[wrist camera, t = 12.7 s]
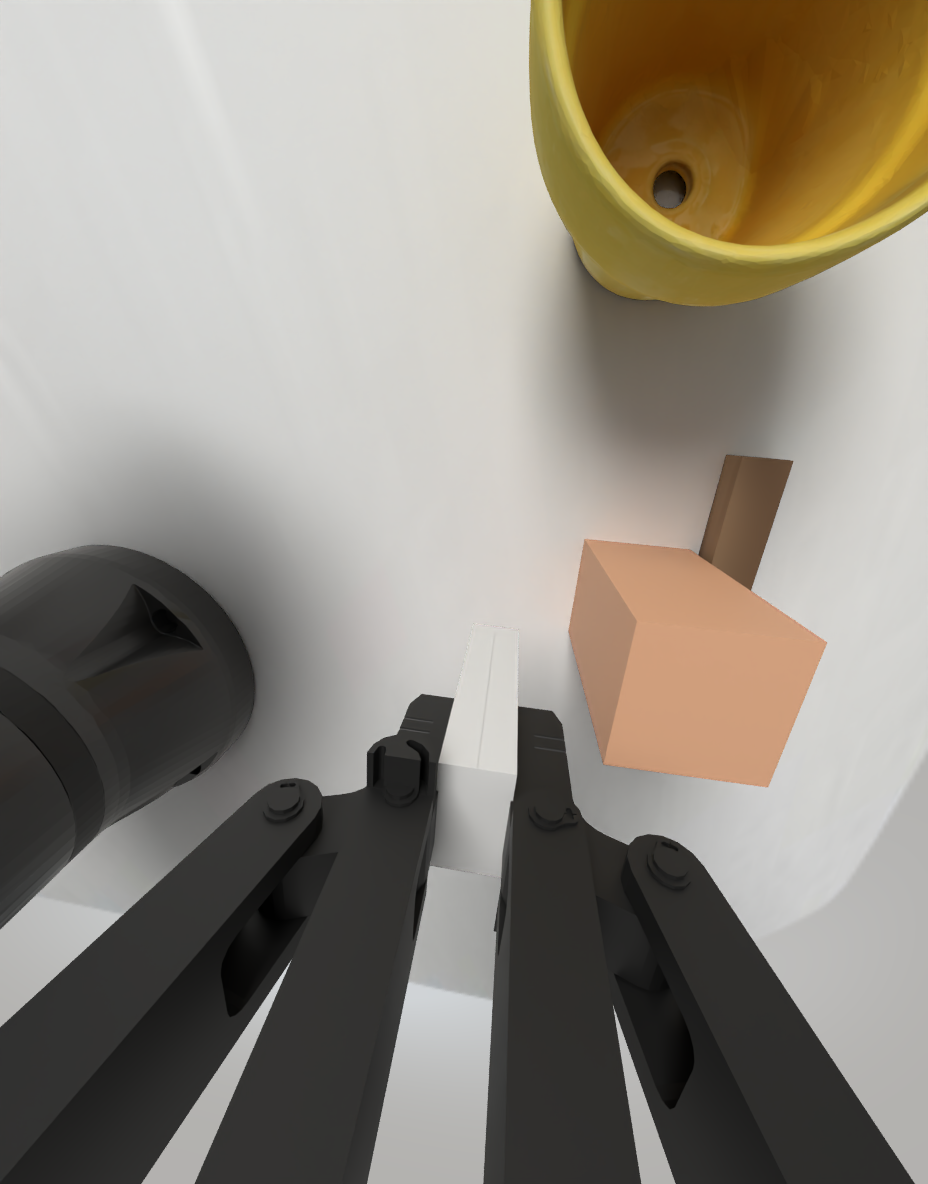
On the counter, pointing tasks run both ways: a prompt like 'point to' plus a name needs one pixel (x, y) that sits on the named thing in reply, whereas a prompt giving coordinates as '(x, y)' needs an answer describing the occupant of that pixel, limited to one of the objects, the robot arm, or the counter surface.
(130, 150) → the counter surface
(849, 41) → the plant pot
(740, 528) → the wooden plank
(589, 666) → the block
